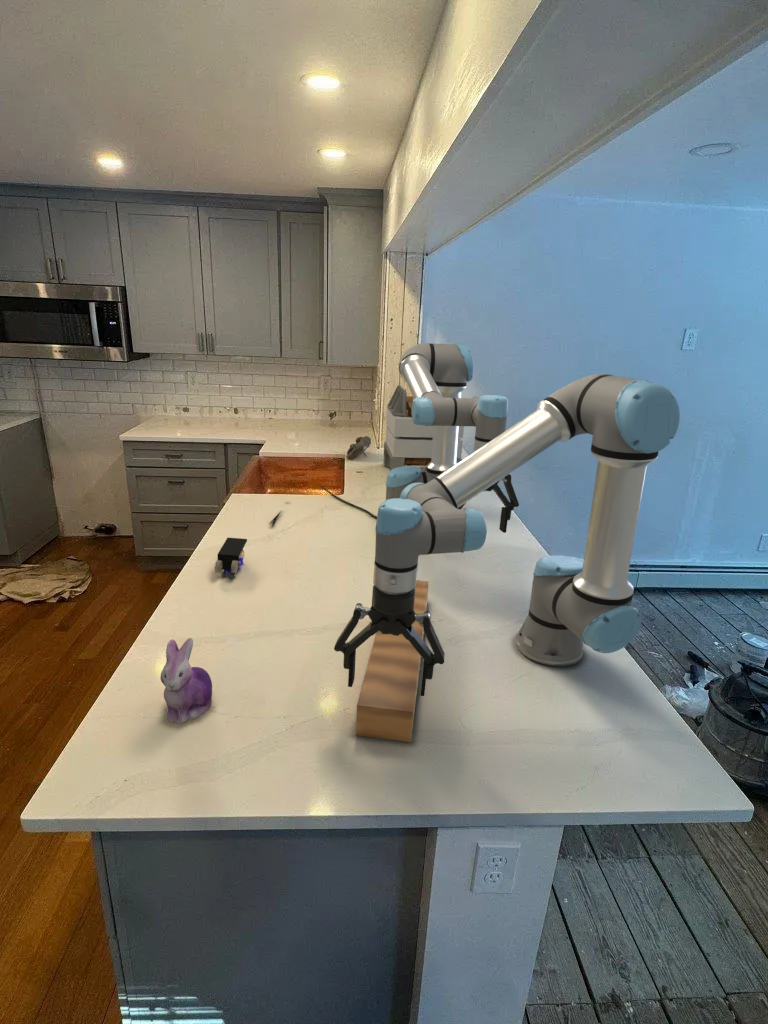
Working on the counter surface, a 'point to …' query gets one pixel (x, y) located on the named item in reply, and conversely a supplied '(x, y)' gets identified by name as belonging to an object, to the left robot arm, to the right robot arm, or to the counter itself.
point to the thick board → (392, 682)
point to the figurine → (184, 684)
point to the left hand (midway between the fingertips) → (479, 532)
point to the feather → (274, 519)
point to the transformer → (408, 435)
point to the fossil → (358, 447)
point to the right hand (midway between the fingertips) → (386, 687)
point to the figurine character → (230, 556)
